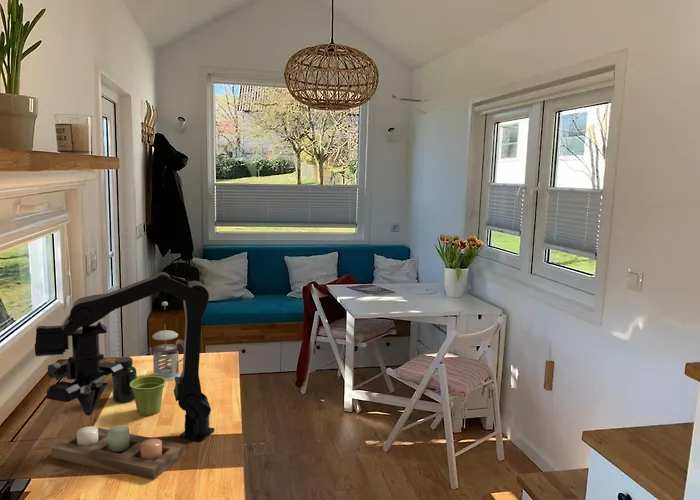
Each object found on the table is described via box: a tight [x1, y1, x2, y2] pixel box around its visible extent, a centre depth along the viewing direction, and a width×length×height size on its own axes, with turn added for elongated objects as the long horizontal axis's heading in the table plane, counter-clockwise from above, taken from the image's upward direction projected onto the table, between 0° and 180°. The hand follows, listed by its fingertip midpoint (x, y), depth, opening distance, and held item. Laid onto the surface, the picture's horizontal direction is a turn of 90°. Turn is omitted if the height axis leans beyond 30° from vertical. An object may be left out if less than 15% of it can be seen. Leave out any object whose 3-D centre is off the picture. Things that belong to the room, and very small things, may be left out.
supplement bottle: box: [111, 356, 138, 404], centre depth 165 cm, size 7×7×12 cm
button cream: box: [76, 425, 99, 447], centre depth 135 cm, size 5×5×4 cm
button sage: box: [108, 424, 130, 453], centre depth 133 cm, size 5×5×4 cm
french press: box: [150, 301, 184, 382], centre depth 183 cm, size 10×12×25 cm
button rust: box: [141, 438, 162, 461], centre depth 130 cm, size 5×5×4 cm
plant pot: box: [130, 375, 167, 417], centre depth 157 cm, size 9×9×9 cm
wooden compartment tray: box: [50, 425, 186, 481], centre depth 133 cm, size 12×28×2 cm, turn 73°
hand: (88, 414), depth 134 cm, fingers closed
